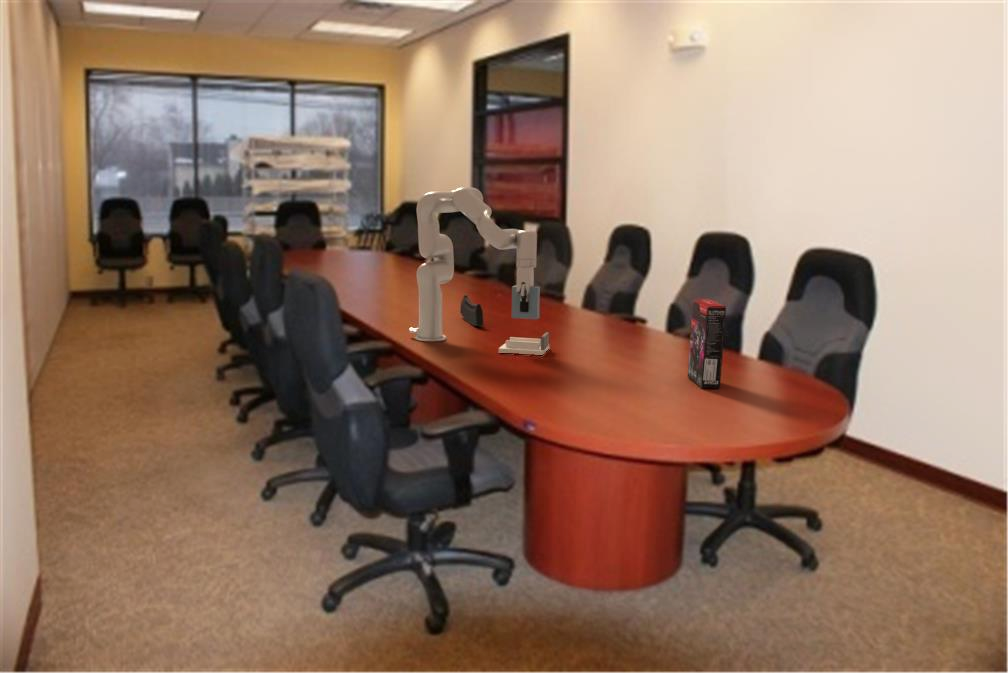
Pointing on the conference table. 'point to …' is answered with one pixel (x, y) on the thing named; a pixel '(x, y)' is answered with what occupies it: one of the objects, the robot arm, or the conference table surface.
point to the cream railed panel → (526, 345)
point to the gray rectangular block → (533, 303)
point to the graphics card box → (706, 343)
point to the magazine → (471, 312)
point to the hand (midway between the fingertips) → (525, 310)
